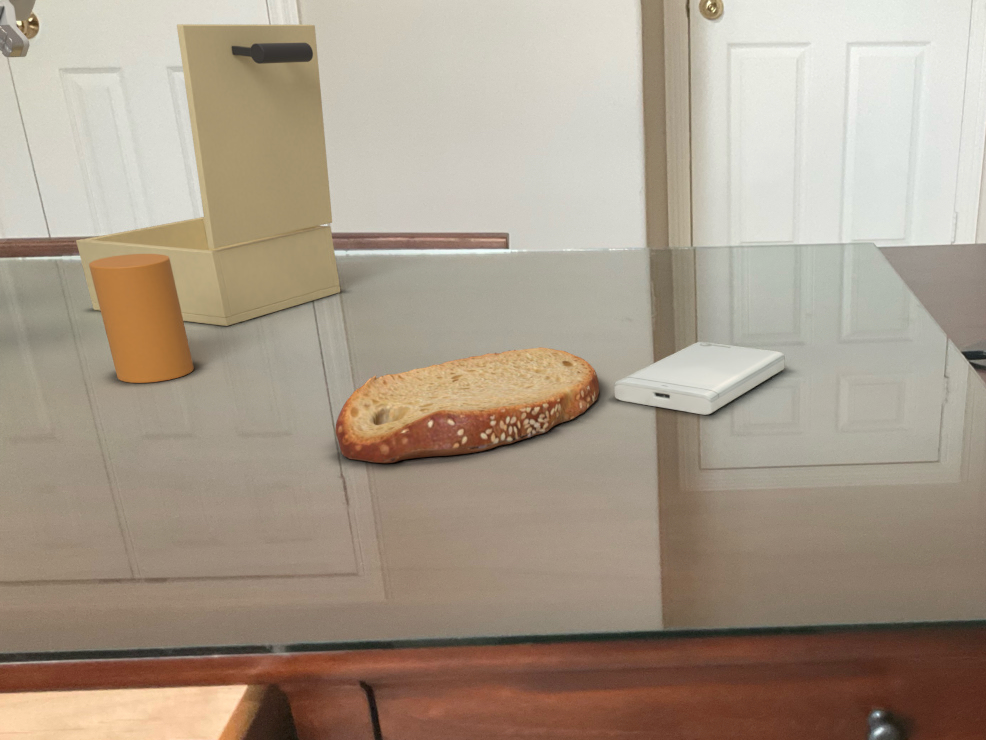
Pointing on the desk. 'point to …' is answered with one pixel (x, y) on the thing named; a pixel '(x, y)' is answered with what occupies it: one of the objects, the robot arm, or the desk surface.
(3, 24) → the robot arm
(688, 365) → the hard drive
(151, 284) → the orange cylinder
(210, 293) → the breadbox
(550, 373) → the slice of bread
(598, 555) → the desk surface
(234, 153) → the lid
